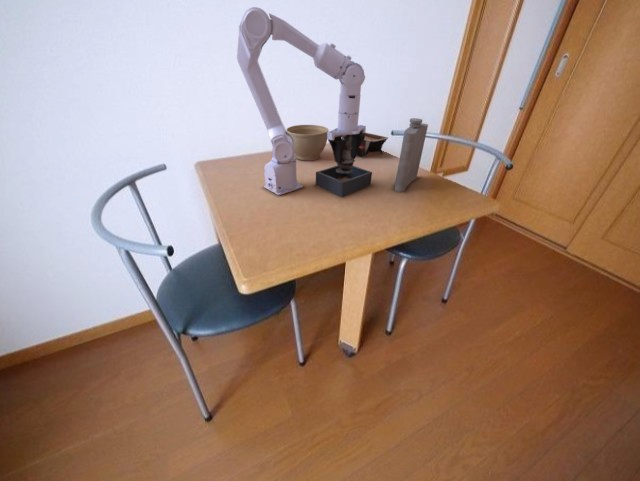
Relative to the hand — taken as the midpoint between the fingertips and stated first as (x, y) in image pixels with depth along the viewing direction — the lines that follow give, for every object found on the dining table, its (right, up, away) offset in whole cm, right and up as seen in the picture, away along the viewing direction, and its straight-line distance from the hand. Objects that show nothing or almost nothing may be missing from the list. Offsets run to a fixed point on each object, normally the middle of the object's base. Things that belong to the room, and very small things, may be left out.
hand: (345, 160), depth 88 cm
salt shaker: (0, -3, +2) cm, 4 cm away
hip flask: (+20, -6, +7) cm, 23 cm away
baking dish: (+10, +13, +35) cm, 39 cm away
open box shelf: (0, -7, +5) cm, 8 cm away
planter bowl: (-13, +9, +28) cm, 32 cm away
